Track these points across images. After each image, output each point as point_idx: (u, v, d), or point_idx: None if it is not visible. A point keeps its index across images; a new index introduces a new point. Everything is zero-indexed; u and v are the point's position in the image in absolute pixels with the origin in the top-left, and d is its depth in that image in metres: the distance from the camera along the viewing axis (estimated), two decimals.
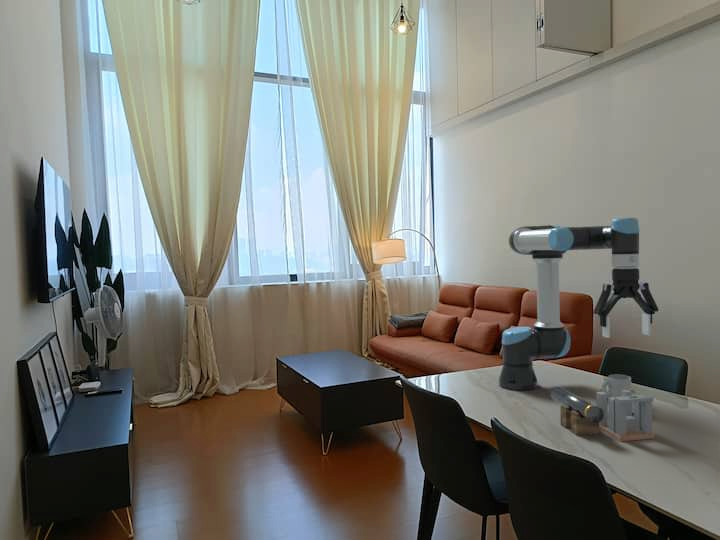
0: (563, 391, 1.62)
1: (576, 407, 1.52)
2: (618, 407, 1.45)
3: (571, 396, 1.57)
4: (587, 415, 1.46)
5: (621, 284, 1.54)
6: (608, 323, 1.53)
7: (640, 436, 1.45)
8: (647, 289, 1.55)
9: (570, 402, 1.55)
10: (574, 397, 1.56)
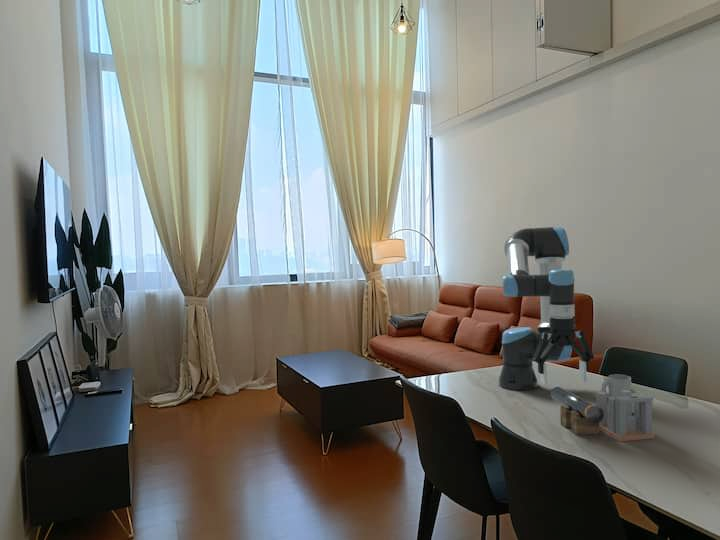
0: (563, 391, 1.62)
1: (576, 407, 1.52)
2: (618, 407, 1.45)
3: (571, 396, 1.57)
4: (587, 415, 1.46)
5: (557, 333, 1.61)
6: (545, 370, 1.60)
7: (640, 436, 1.45)
8: (583, 337, 1.62)
9: (570, 402, 1.55)
10: (574, 397, 1.56)
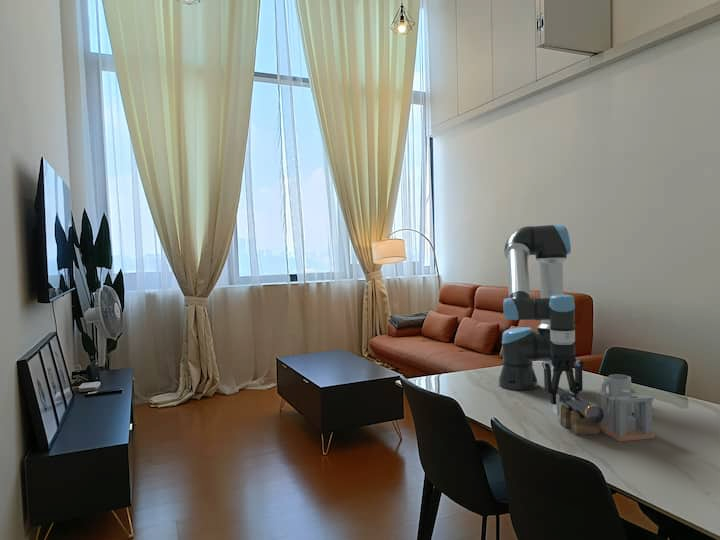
0: (563, 391, 1.62)
1: (576, 407, 1.52)
2: (618, 407, 1.45)
3: (571, 396, 1.57)
4: (587, 415, 1.46)
5: (557, 358, 1.61)
6: (558, 401, 1.62)
7: (640, 436, 1.45)
8: (581, 367, 1.62)
9: (570, 402, 1.55)
10: (574, 397, 1.56)
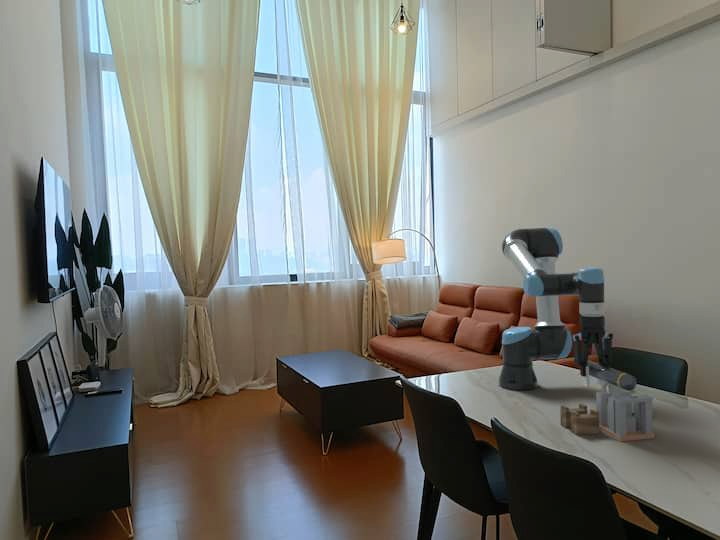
0: (593, 363, 1.64)
1: (607, 377, 1.54)
2: (618, 407, 1.45)
3: (602, 367, 1.59)
4: (620, 383, 1.48)
5: (586, 330, 1.63)
6: (588, 373, 1.63)
7: (640, 436, 1.45)
8: (610, 339, 1.64)
9: (601, 373, 1.57)
10: (605, 367, 1.57)
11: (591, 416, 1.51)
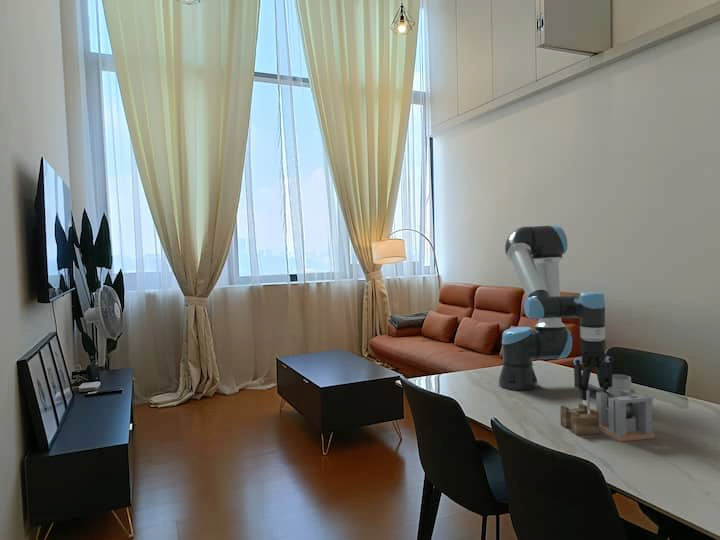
0: (593, 387, 1.64)
1: None
2: (618, 407, 1.45)
3: None
4: None
5: (587, 354, 1.64)
6: (588, 397, 1.64)
7: (640, 436, 1.45)
8: (610, 363, 1.65)
9: None
10: None
11: (591, 416, 1.51)
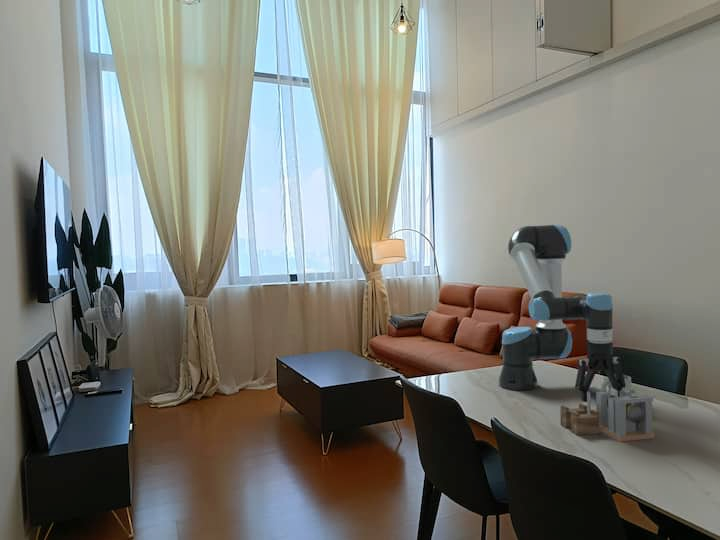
0: (600, 391, 1.61)
1: None
2: (618, 407, 1.45)
3: (609, 396, 1.55)
4: (628, 416, 1.45)
5: (594, 357, 1.60)
6: (589, 399, 1.60)
7: (640, 436, 1.45)
8: (619, 364, 1.61)
9: None
10: None
11: (591, 416, 1.51)
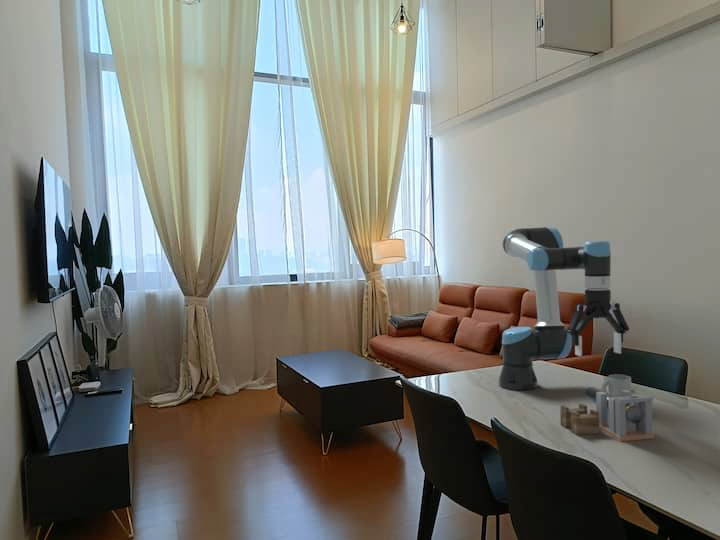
0: None
1: None
2: (618, 407, 1.45)
3: (607, 397, 1.55)
4: (627, 417, 1.45)
5: (593, 305, 1.60)
6: (580, 342, 1.60)
7: (640, 436, 1.45)
8: (618, 309, 1.61)
9: (607, 404, 1.54)
10: None
11: (591, 416, 1.51)
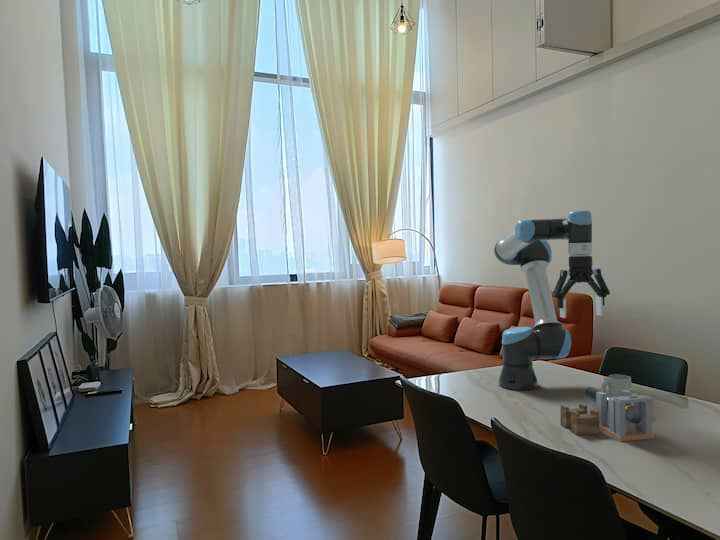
0: None
1: None
2: (618, 407, 1.45)
3: None
4: (627, 418, 1.45)
5: (576, 270, 1.72)
6: (564, 305, 1.72)
7: (640, 436, 1.45)
8: (599, 274, 1.73)
9: None
10: None
11: (591, 416, 1.51)
